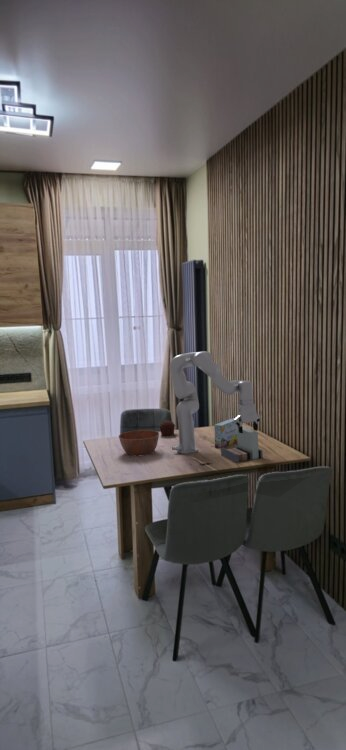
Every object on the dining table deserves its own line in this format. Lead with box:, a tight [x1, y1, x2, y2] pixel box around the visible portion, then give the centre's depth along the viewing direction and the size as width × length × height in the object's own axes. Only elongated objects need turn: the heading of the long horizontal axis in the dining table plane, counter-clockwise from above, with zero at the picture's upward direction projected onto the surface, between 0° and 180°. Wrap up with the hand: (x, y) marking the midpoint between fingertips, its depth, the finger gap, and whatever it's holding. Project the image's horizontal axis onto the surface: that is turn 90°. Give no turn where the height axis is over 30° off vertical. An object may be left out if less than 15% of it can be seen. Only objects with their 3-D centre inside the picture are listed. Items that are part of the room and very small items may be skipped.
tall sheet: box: [237, 426, 259, 460], centre depth 295 cm, size 4×16×15 cm, turn 23°
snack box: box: [213, 418, 239, 449], centre depth 325 cm, size 21×6×15 cm, turn 143°
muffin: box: [158, 420, 176, 437], centre depth 359 cm, size 12×11×10 cm
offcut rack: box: [220, 444, 264, 464], centre depth 294 cm, size 17×18×6 cm
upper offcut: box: [226, 447, 247, 458], centre depth 293 cm, size 6×14×2 cm, turn 23°
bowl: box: [118, 429, 160, 457], centre depth 317 cm, size 25×25×12 cm
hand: (248, 431), depth 294 cm, fingers open, 9 cm apart
